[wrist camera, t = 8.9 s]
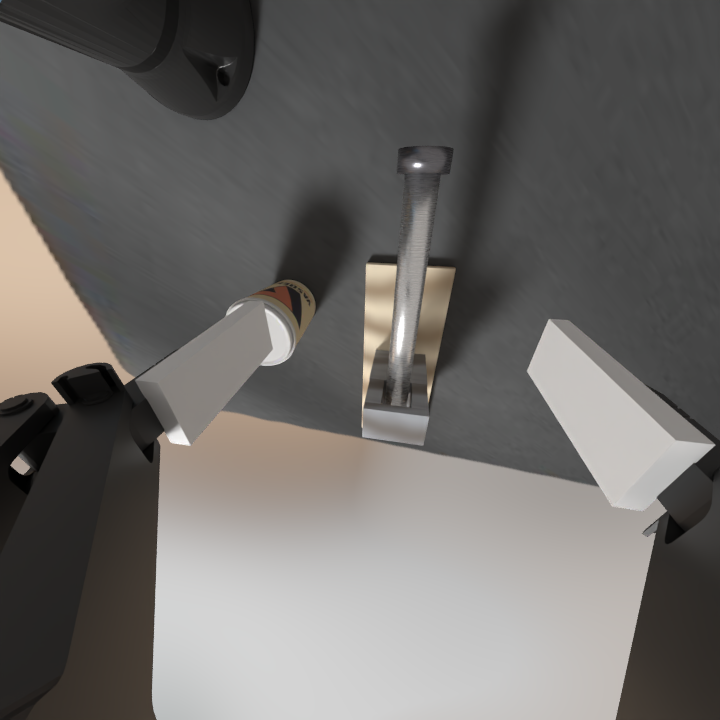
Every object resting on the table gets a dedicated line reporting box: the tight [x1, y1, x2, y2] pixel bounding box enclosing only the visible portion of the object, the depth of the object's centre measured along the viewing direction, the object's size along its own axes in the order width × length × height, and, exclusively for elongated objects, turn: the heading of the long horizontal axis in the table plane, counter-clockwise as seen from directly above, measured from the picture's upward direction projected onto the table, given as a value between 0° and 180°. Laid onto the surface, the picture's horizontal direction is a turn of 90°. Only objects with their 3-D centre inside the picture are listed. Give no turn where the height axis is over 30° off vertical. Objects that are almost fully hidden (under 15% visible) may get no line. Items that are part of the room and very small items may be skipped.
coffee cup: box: [226, 280, 316, 366], centre depth 38 cm, size 9×9×12 cm
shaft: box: [385, 146, 454, 407], centre depth 29 cm, size 28×4×4 cm, turn 179°
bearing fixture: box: [362, 262, 456, 445], centre depth 39 cm, size 32×12×15 cm, turn 179°
